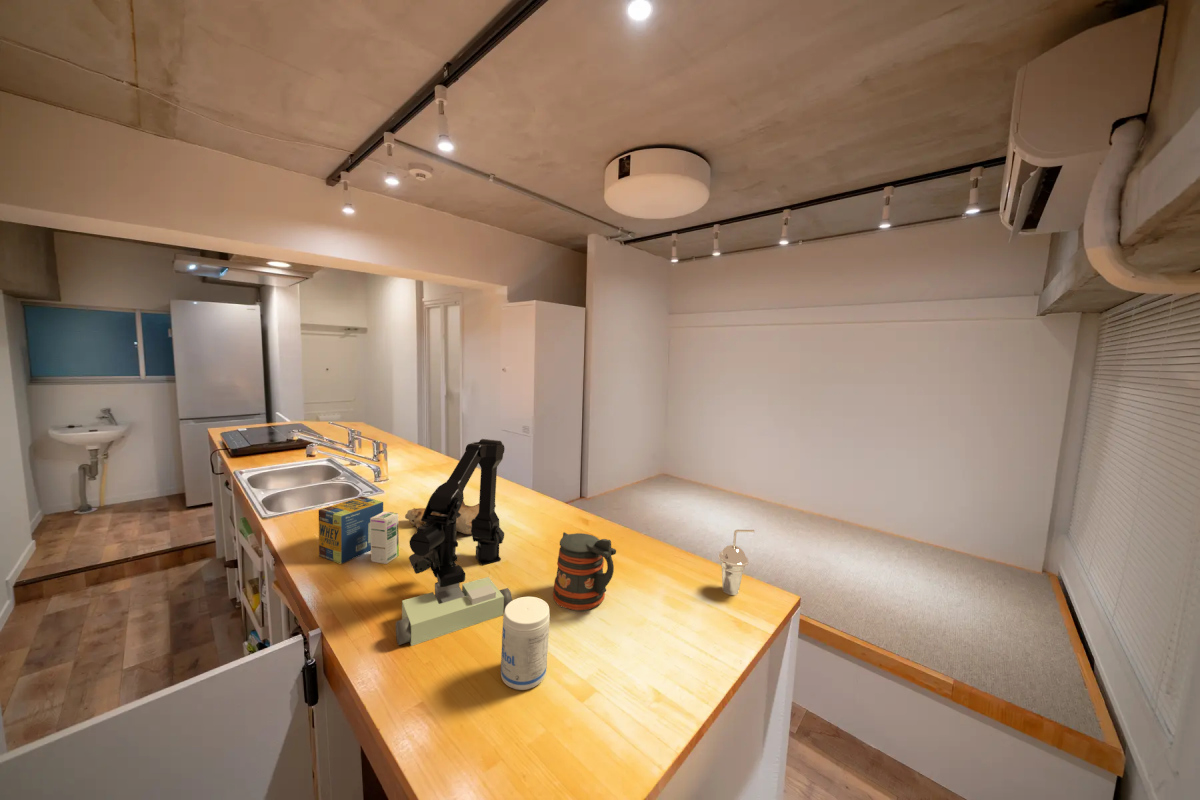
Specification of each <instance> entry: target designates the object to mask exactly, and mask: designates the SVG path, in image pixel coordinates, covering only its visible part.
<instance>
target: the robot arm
mask: <svg viewBox="0 0 1200 800" xmlns="http://www.w3.org/2000/svg"><path fill="white" fill-rule="evenodd" d="M505 450H506V449H505V445H504V443H503V442H502V440H496V439H489V438H488V439H486V438H482V439H480V440H479V441H473V442H472V443H468V444H467V445H466V446H465V451H464V453H463V455H462V456H461V457H460V459H459V460H458V463H457V464H456V466H455V468H454V470H453V471H452V472H451V474H450V476H449V477H448V479H447V480H446V481H445V482H444V483H442V484H441V485H439V486H437V488H436V489H435V490H434V491H433V493H432V494H431V495H430V497H429V499H428V502H427V504H426V507H425V508H426V509H425V511H424V514H423V516H422V519H421V521H423V522H425V523H424V524H423V525H422V526H420V527H418V528H417V527H416V532H415V533H413V534H412V536H411V537H410V539H409V542H408V543H409V548H410V549H411V551H412V552H413V553H412V554H410V555H409V557H408V561H409V563H410V564H411V567H412V569H413V571H414V574H416V575H417V574H420V573H423V572H425V571H427V570H429V569H431V572H432V574H433V576H434V577H435V578H436V579H437V582H438V583H439V585H440V587H446V586H450V585H453V584H457V583H464V582H465V581H466V572H465V570H464V569H463V568H462V566H461V565H459V564H457V563H456V562H458V555H457V554H456V548H457V547H459V542H458V541H457V530H456V522H457V518H458V517H460V516H461V514H460V513H459V512H458V511H459V510H460V508H461V504H462V502H464V498H465V497H464V490H465V488H466V486H467V484H468V482H469V481H470V479H471V477H472V476H473V474H474V472H475V470H476V469H477V466H478V465H479V467H480V479H479V480H480V481H479V482H480V483H479V499H478V500H479V503H478V504H479V513H478V514H477V516H476V517H475V519H473V520H472V528H471V533H472V534H471V537H472V541H473V542H474V543H475V542H476V543H477V545H476V546H475V556H474V557H475V559H476V560H477V561H478V563H480V565H482V566H485V565H487V564H491V563H496V562H499V561H501V560H502V558H501V557H500V545H501V544H503V541H504V538H505V532H504V531H503V530H502V528H501V527H500V518H499V517H498V515H497V513H496V510H495V508H496V506H495V505H496V489H497V471H498V467H499V465H500V463H501V462H502V461H503V460H504V459H503V458H504V453H505ZM432 512H433V513H438V514H443V515H441V516H437V515H431V514H432Z"/></svg>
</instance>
